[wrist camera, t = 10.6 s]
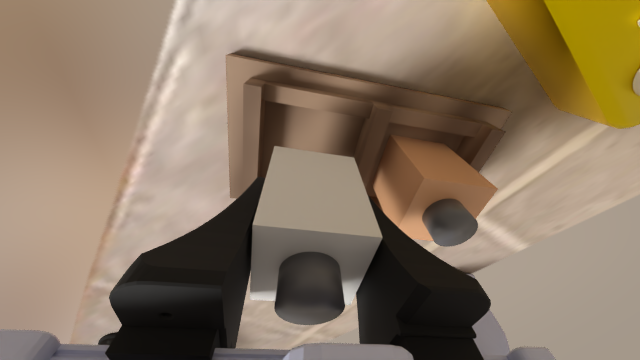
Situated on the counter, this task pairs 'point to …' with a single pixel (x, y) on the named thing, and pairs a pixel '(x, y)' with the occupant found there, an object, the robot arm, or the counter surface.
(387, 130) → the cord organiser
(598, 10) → the element tile
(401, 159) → the orange plug
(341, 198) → the grey plug
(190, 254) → the robot arm
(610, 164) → the counter surface
